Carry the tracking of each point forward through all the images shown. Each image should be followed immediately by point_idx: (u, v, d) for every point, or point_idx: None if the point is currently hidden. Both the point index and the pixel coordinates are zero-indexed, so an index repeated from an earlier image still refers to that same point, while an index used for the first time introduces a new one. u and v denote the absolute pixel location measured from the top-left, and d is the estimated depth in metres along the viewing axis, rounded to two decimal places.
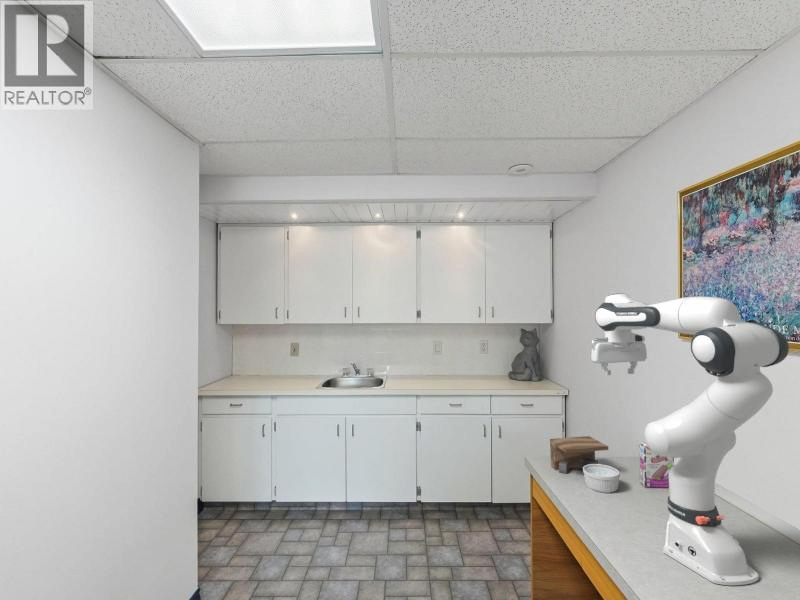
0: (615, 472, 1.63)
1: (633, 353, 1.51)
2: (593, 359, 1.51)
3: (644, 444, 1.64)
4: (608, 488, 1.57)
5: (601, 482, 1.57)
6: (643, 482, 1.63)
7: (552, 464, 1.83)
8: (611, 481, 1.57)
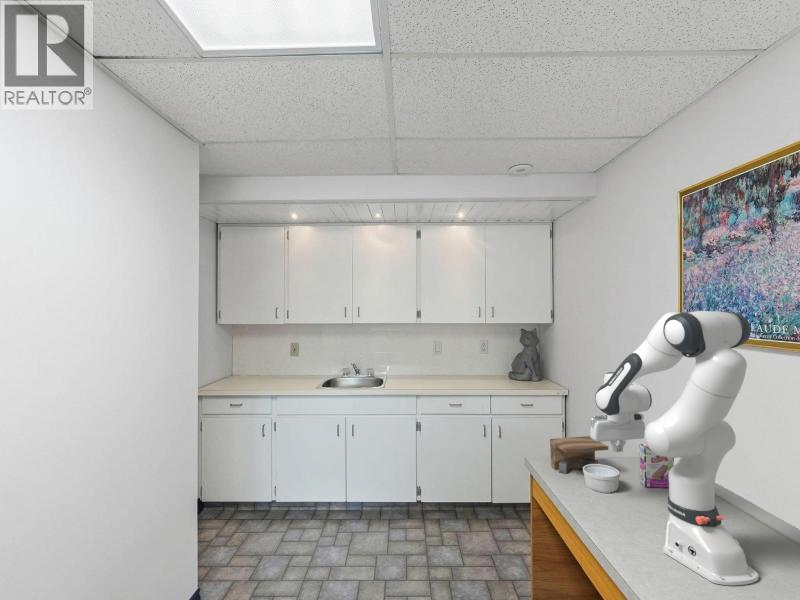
0: (615, 472, 1.63)
1: (632, 430, 1.51)
2: (592, 437, 1.51)
3: (644, 444, 1.64)
4: (608, 488, 1.57)
5: (601, 482, 1.57)
6: (643, 482, 1.63)
7: (552, 464, 1.83)
8: (611, 481, 1.57)
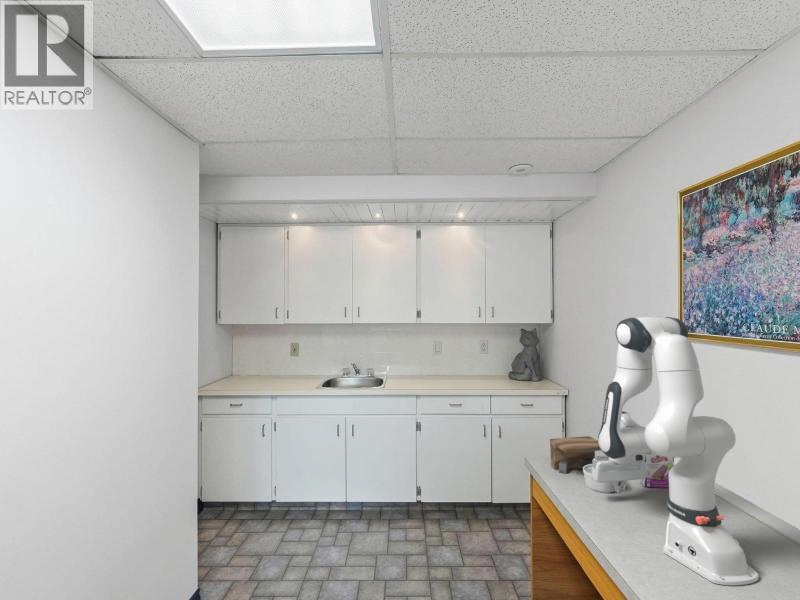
0: None
1: (634, 471, 1.51)
2: (594, 477, 1.51)
3: None
4: (608, 488, 1.57)
5: None
6: (643, 482, 1.63)
7: (552, 464, 1.83)
8: None
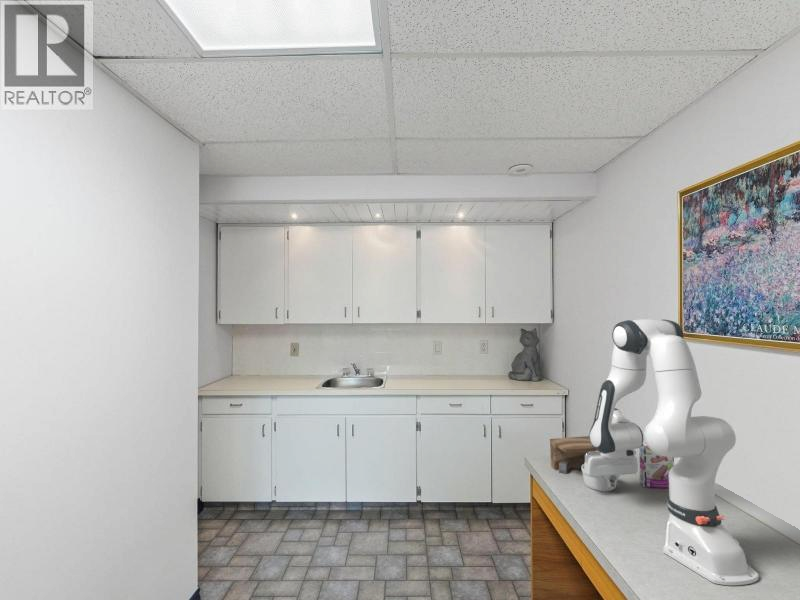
0: None
1: (625, 466, 1.56)
2: (586, 472, 1.56)
3: (644, 444, 1.64)
4: (607, 486, 1.58)
5: (600, 480, 1.58)
6: (643, 482, 1.63)
7: (552, 464, 1.83)
8: (609, 479, 1.58)
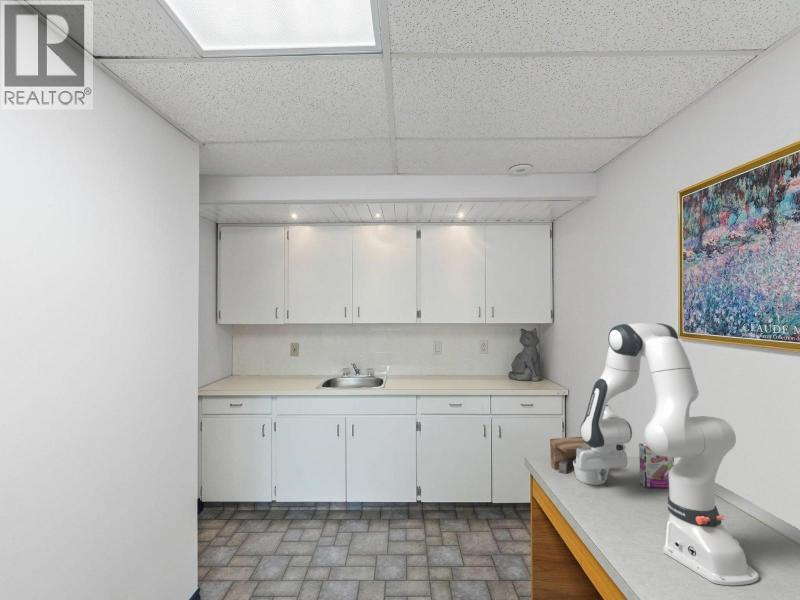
0: None
1: (615, 460, 1.62)
2: (577, 466, 1.62)
3: (644, 444, 1.64)
4: (598, 480, 1.64)
5: (591, 474, 1.64)
6: (643, 482, 1.63)
7: (552, 464, 1.83)
8: (600, 473, 1.64)
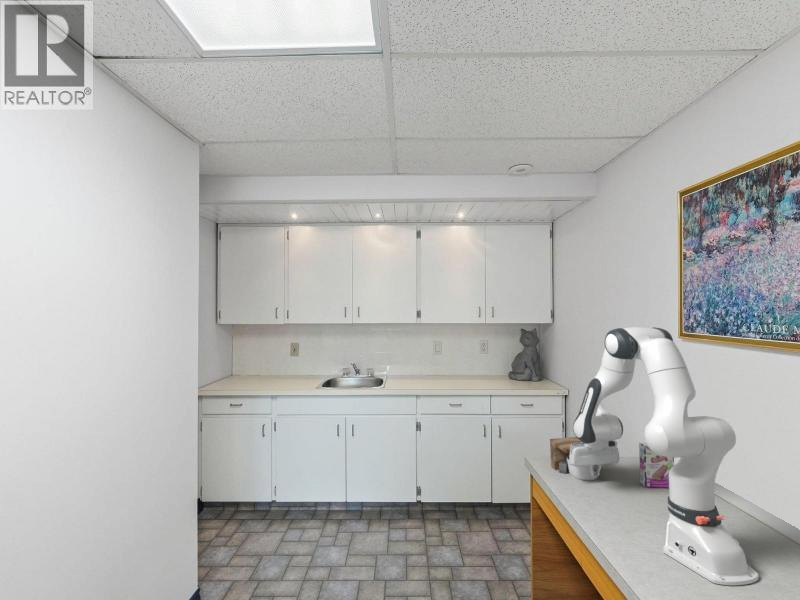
0: None
1: (607, 456, 1.66)
2: (571, 462, 1.66)
3: (644, 444, 1.64)
4: (591, 475, 1.69)
5: (584, 470, 1.69)
6: (643, 482, 1.63)
7: (552, 464, 1.83)
8: (593, 469, 1.69)
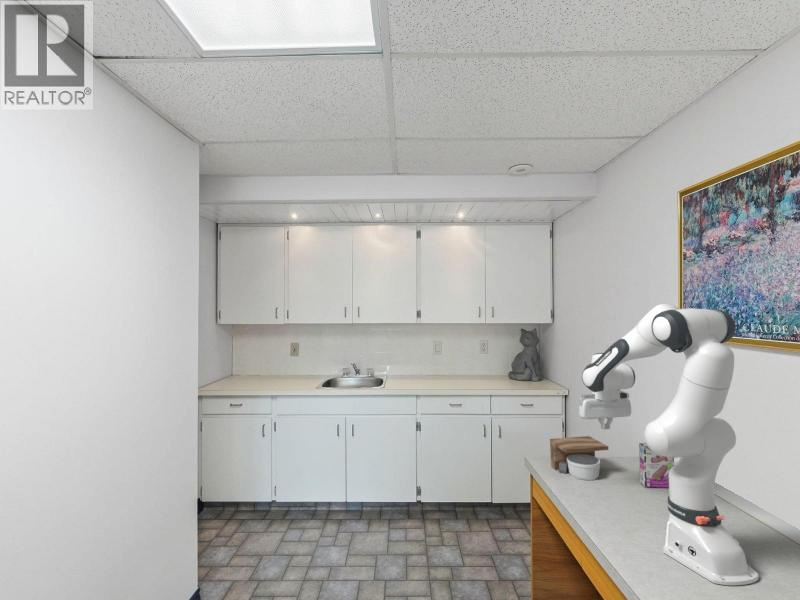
0: (596, 461, 1.76)
1: (619, 409, 1.59)
2: (580, 415, 1.59)
3: (644, 444, 1.64)
4: (591, 475, 1.69)
5: (584, 470, 1.69)
6: (643, 482, 1.63)
7: (552, 464, 1.83)
8: (593, 469, 1.69)
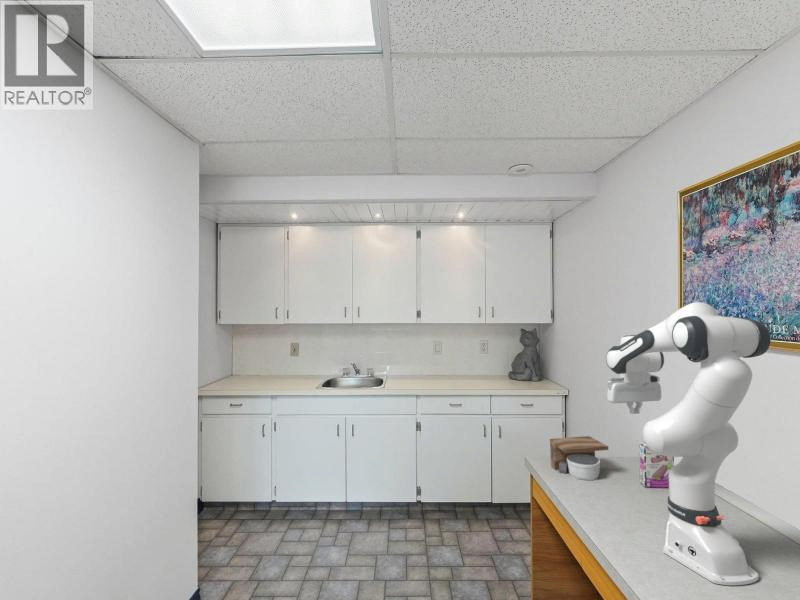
0: (596, 461, 1.76)
1: (648, 393, 1.55)
2: (609, 399, 1.55)
3: (644, 444, 1.64)
4: (591, 475, 1.69)
5: (584, 470, 1.69)
6: (643, 482, 1.63)
7: (552, 464, 1.83)
8: (593, 469, 1.69)
